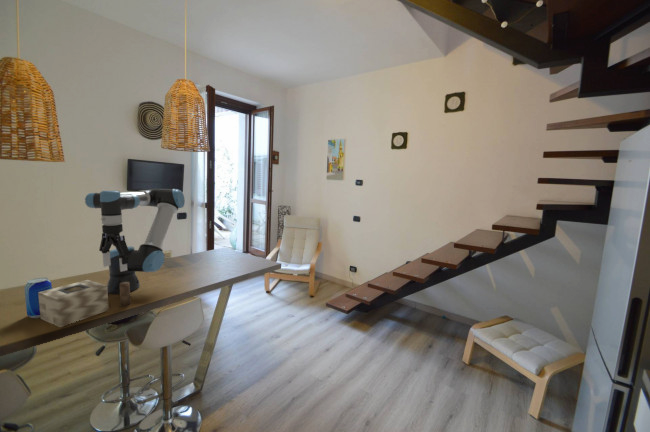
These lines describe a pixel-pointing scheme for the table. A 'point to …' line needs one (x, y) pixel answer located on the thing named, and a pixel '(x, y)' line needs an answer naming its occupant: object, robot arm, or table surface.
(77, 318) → the tissue box
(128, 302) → the peg
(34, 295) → the beer can
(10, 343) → the table surface
